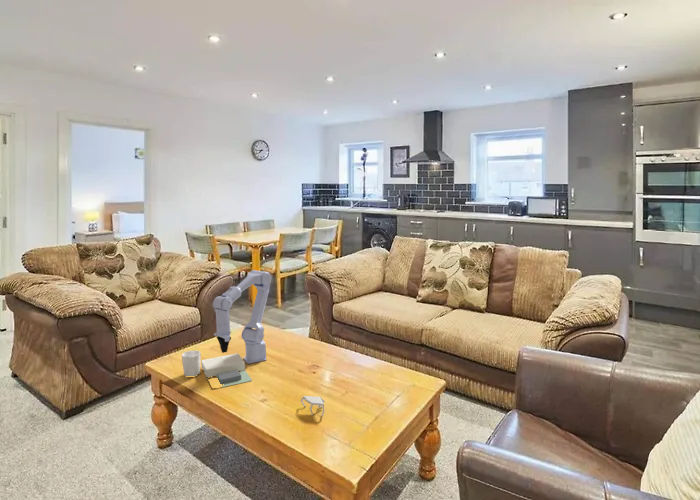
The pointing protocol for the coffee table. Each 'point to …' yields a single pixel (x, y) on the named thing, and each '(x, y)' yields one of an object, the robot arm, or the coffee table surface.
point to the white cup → (191, 363)
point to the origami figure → (313, 402)
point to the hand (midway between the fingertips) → (224, 351)
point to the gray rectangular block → (229, 377)
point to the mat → (244, 378)
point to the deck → (223, 364)
